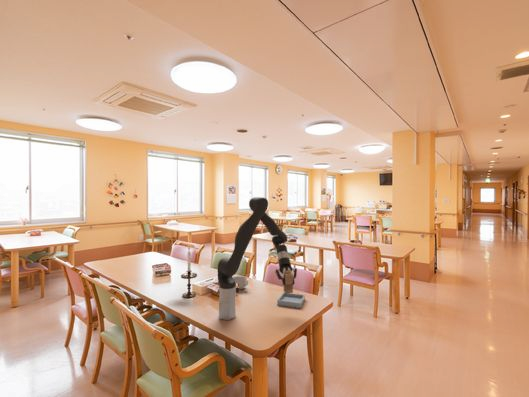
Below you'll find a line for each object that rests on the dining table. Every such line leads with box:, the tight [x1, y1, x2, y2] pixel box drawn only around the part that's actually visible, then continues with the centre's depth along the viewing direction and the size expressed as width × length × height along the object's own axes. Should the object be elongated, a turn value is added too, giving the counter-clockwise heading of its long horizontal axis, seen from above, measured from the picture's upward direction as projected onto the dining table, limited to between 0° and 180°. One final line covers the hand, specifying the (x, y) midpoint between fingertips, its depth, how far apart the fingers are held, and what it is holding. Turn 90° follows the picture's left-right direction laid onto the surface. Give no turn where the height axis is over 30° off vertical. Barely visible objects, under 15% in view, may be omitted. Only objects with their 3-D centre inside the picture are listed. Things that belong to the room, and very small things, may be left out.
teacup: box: [232, 275, 249, 290], centre depth 198 cm, size 14×11×8 cm
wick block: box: [283, 270, 294, 294], centre depth 160 cm, size 4×4×13 cm
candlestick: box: [180, 246, 198, 299], centre depth 184 cm, size 11×11×35 cm
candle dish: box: [276, 291, 306, 309], centre depth 173 cm, size 15×15×3 cm
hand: (289, 284), depth 158 cm, fingers closed on wick block, 4 cm apart
